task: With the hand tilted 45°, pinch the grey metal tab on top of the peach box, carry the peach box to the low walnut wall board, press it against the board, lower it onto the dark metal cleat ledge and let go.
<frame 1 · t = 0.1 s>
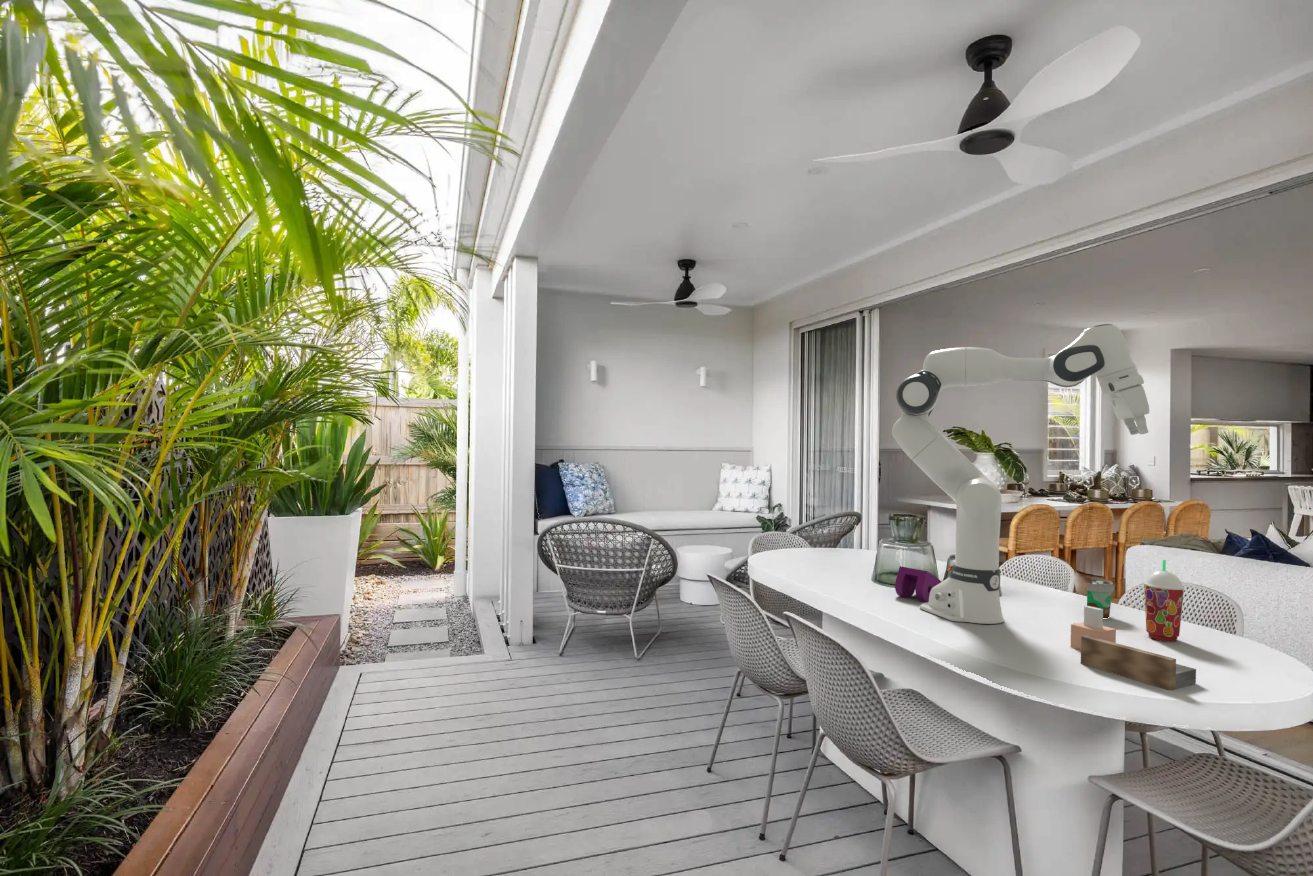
hand: (1139, 434, 179), 52 cm above the table, tool tilted 20°, fingers open, 8 cm apart
mounting bracket: (924, 597, 220), on the table
food container: (1101, 617, 199), on the table
wall board: (1135, 673, 150), on the table
peach box: (1092, 649, 167), on the table
smoothie: (1162, 639, 177), on the table
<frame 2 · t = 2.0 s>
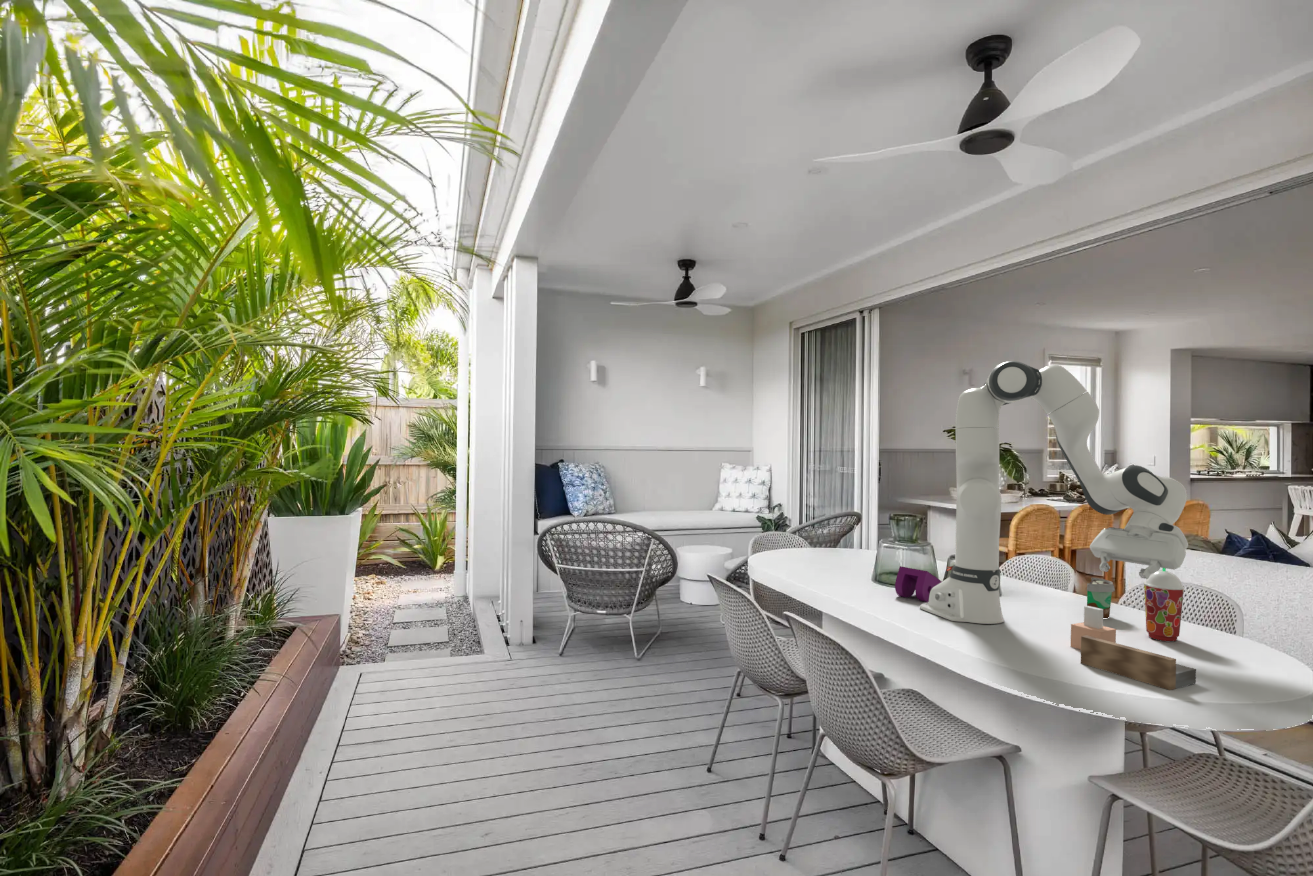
hand: (1122, 573, 172), 17 cm above the table, tool tilted 45°, fingers open, 8 cm apart
nothing on the table moved.
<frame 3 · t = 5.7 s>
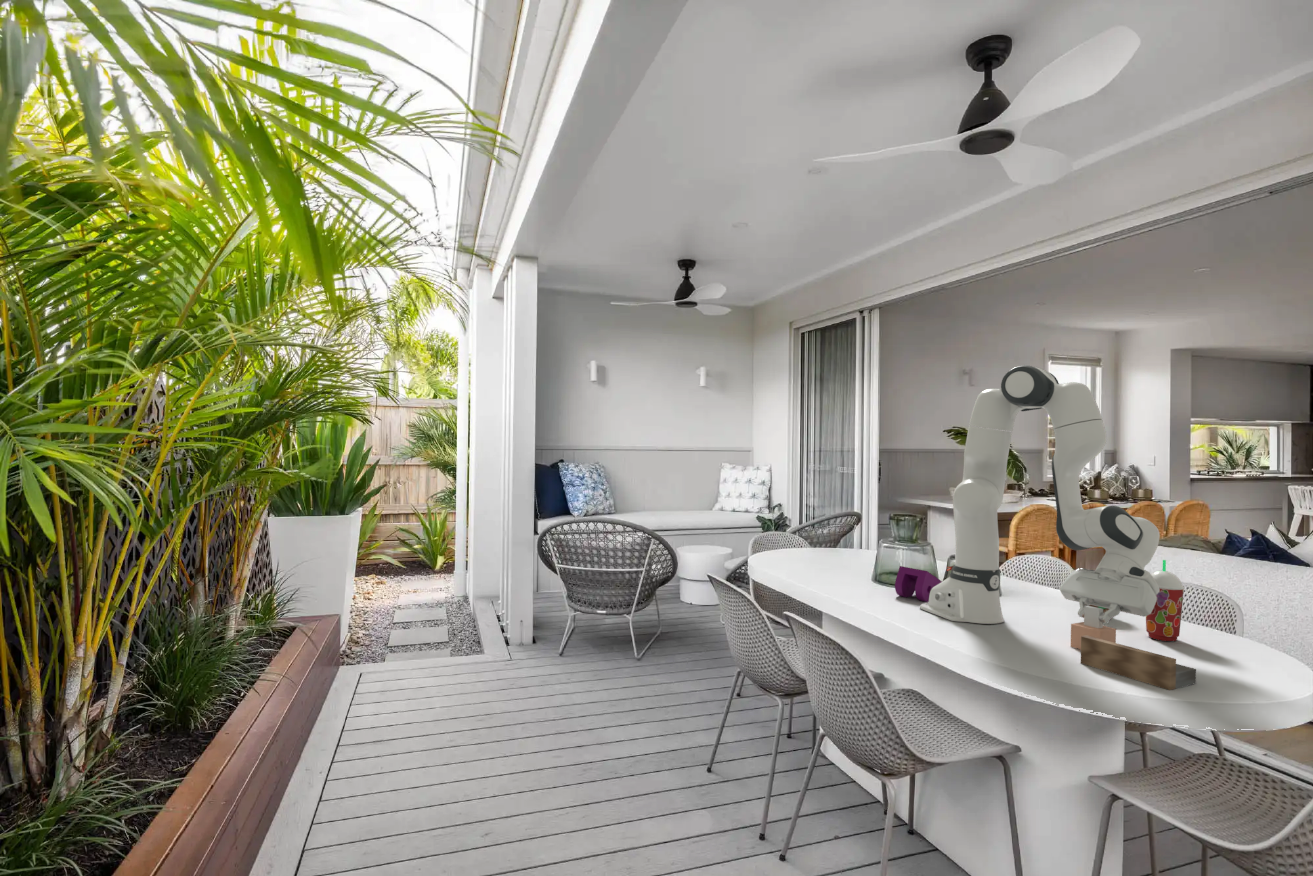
hand: (1091, 618, 166), 7 cm above the table, tool tilted 45°, fingers closed on peach box, 3 cm apart
peach box: (1092, 649, 167), on the table, touching gripper
everything else where it was.
when the fingers open (11 cm above the table, at t = 10.7 s): peach box stays where it is, resting on wall board.
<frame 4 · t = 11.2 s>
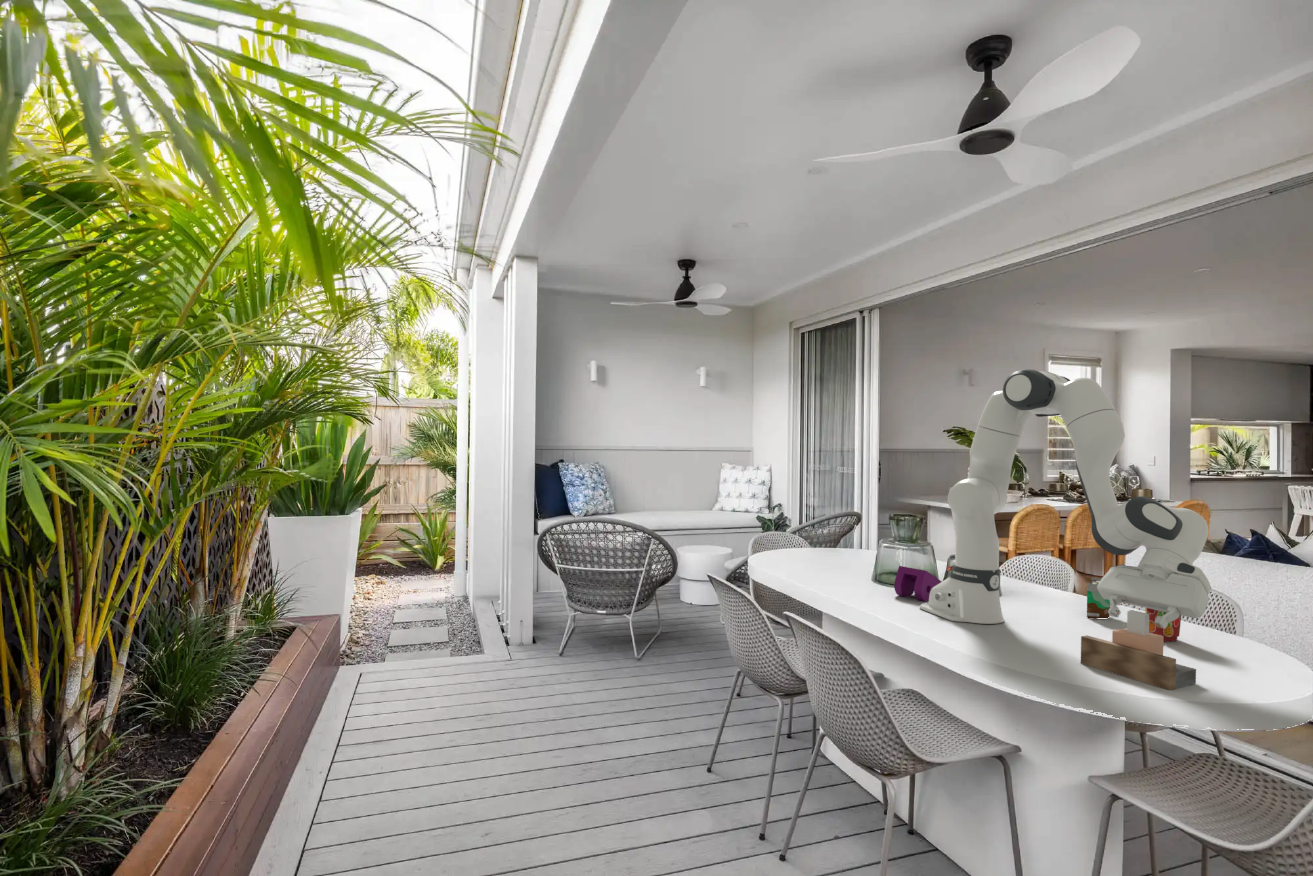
hand: (1135, 620, 150), 11 cm above the table, tool tilted 45°, fingers open, 8 cm apart
peach box: (1137, 658, 150), point 3 cm above the table, touching wall board
everything else where it was.
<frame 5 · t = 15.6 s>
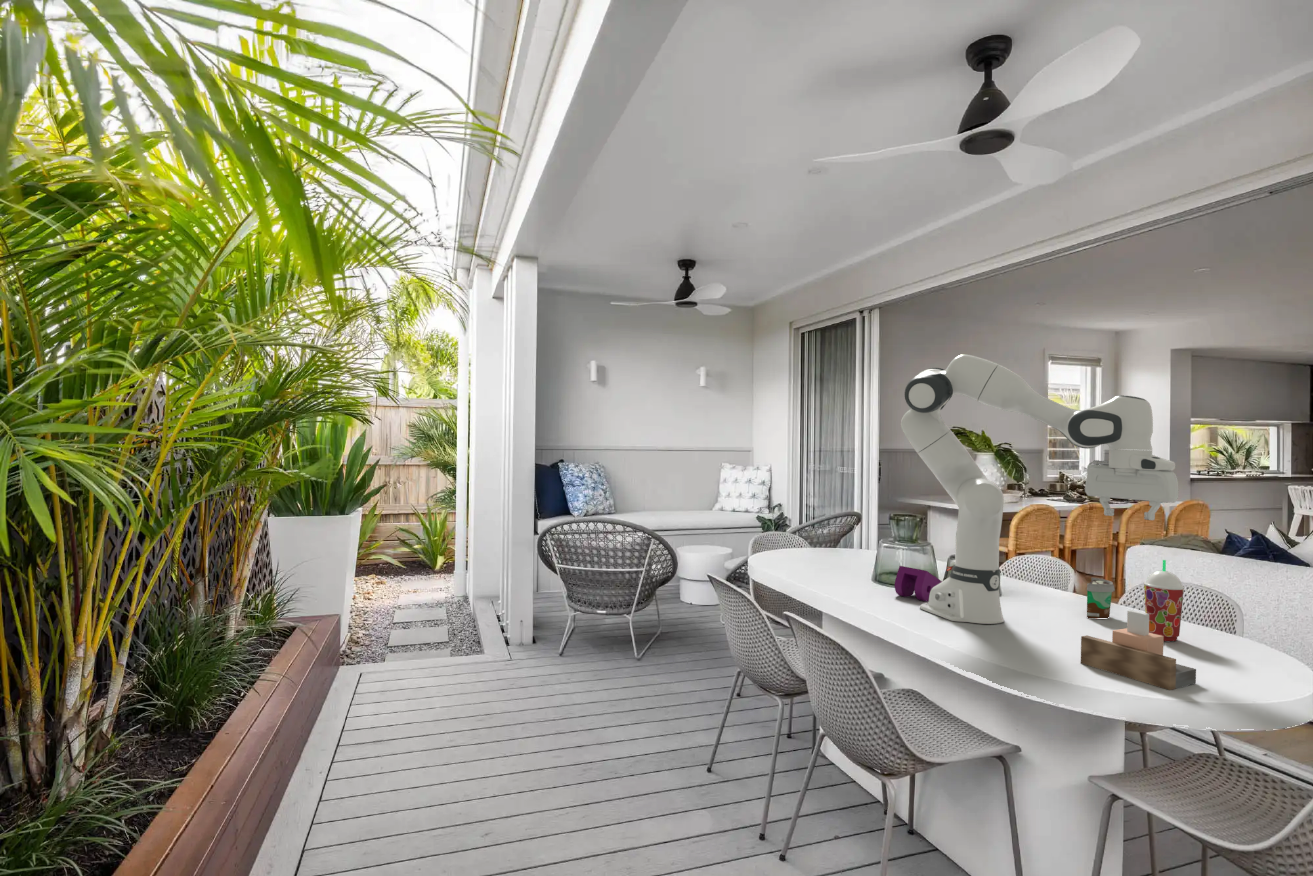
hand: (1128, 517, 172), 31 cm above the table, tool pointing down, fingers open, 8 cm apart
nothing on the table moved.
at the end: peach box 0.2 cm off-centre on the wall board, point 3.0 cm above the wall board's base; peach box tilted 0°; the gripper is holding nothing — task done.
